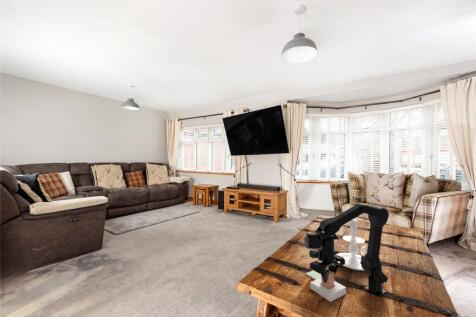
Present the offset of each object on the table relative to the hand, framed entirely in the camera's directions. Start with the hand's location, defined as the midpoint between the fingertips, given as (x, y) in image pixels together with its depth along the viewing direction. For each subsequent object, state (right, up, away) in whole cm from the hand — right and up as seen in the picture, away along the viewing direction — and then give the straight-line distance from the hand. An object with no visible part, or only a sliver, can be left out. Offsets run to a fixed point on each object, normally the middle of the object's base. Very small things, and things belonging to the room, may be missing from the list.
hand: (327, 281), depth 98 cm
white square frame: (0, -5, 0) cm, 4 cm away
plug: (0, -5, 0) cm, 4 cm away
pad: (+1, -5, +13) cm, 14 cm away
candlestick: (+27, -5, +25) cm, 37 cm away
